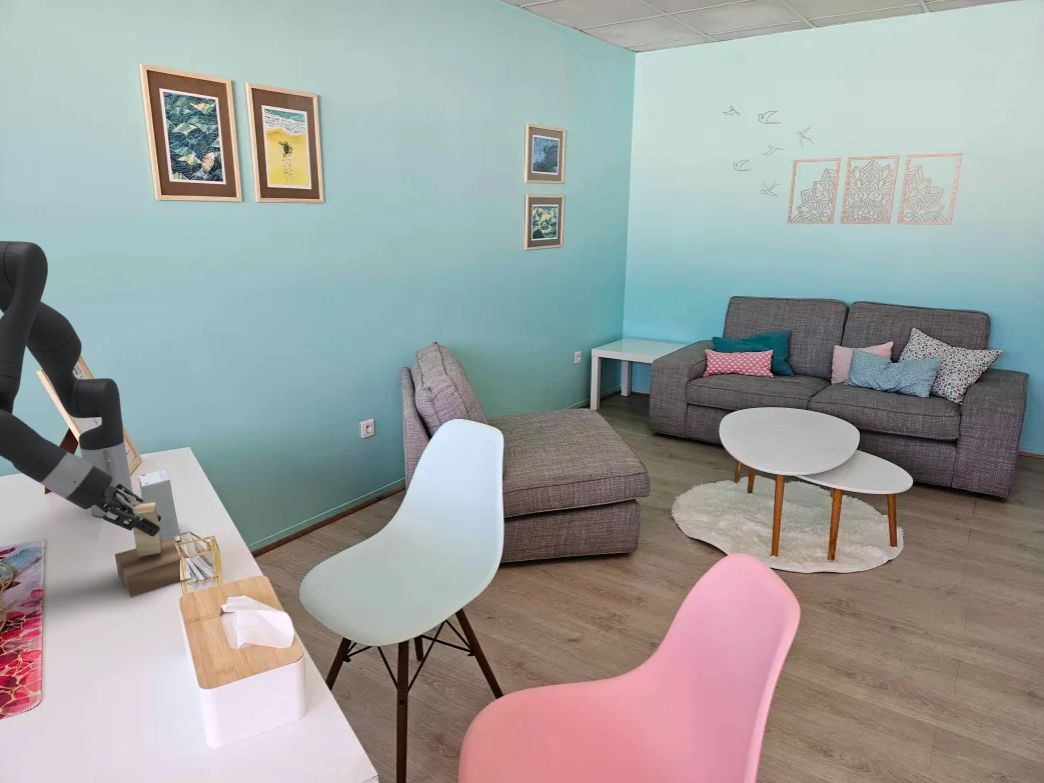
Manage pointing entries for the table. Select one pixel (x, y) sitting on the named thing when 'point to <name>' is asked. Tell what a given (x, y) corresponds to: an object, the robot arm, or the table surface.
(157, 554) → the walnut block
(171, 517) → the skincare box
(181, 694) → the table surface
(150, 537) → the oak post
